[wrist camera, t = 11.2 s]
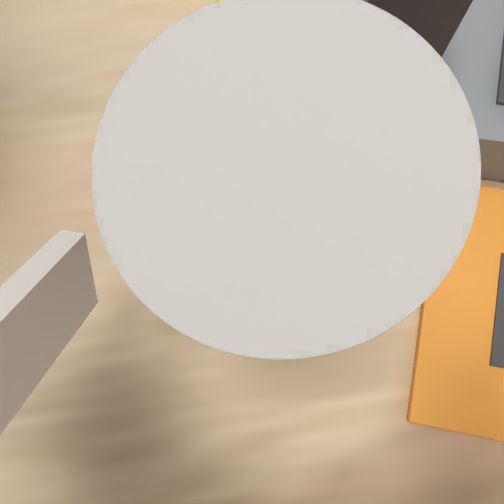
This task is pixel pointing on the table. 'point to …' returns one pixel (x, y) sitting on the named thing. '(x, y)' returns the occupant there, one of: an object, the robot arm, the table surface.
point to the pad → (465, 335)
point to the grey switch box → (467, 60)
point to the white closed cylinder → (286, 175)
